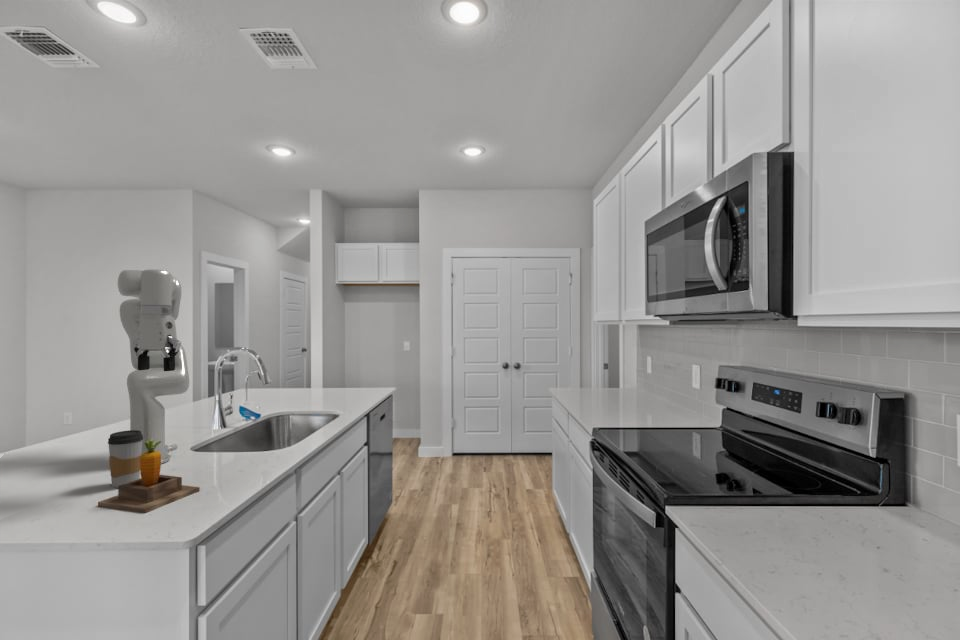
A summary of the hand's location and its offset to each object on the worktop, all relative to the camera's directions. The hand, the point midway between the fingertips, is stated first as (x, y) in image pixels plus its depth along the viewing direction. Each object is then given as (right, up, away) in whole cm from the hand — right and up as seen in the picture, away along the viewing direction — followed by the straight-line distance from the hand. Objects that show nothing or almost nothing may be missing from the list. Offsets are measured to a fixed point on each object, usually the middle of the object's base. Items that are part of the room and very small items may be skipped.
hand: (156, 370), depth 139 cm
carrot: (+6, -32, -11) cm, 35 cm away
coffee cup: (-9, -34, -1) cm, 35 cm away
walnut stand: (+6, -33, -11) cm, 36 cm away
